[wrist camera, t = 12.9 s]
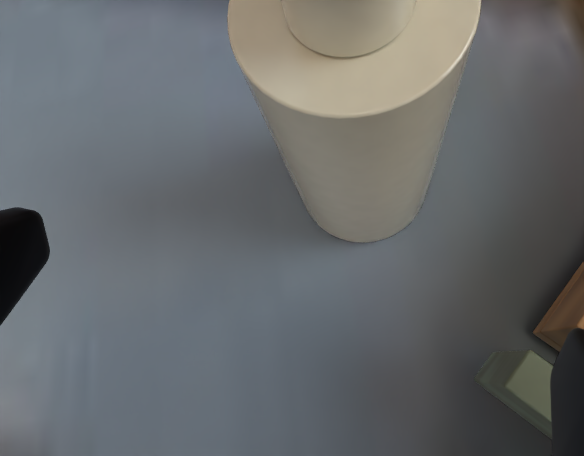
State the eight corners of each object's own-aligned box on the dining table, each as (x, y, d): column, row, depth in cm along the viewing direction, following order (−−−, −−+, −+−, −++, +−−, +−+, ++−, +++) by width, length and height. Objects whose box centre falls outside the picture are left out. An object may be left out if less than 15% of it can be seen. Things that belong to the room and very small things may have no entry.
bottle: (380, 267, 19) (394, 17, 5) (276, 199, 20) (61, -144, 6) (452, 163, 19) (640, -320, 6) (346, 103, 21) (286, -403, 7)
